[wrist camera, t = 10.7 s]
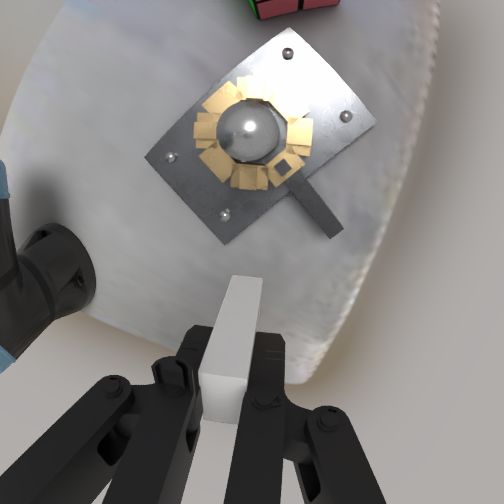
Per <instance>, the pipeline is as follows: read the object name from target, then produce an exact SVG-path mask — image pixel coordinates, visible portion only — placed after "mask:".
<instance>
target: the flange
mask: <svg viewBox="0 0 504 504" xmlns="http://www.w3.org/2000/svg"><path fill="white" fill-rule="evenodd" d="M247 76H264V77H265V78H270V79H276V82H277V88H278V87H280V86H281V85H282V84H284V83H285V84H286V85H287V86H288V87H289V88H290V89H291V90H292V91H293V92H294V94H295V95H296V96H297V97H298V98H299V99H300V100H301V101H302V102H303V103H304V105H305V106H306V107H307V108H308V109H309V110H310V111H309V113H308V114H306V115H305V116H304V117H303V118H306V119H313V125H312V129H313V130H312V142H311V148H310V156H304V155H298V156H299V157H300V158H301V160H302V161H303V162H304V163H305V165H304V166H302V167H301V168H300V169H299V171H300V172H301V173H302V175H303V176H304V177H305V178H307V177H308V176H309V175H311V174H312V173H313V172H314V171H316V170H317V169H318V168H319V167H321V166H322V165H323V164H324V163H326V162H327V161H328V160H329V159H331V158H332V157H333V156H334V155H336V154H337V153H338V152H340V151H341V150H342V149H343V148H345V147H346V146H347V145H348V144H350V143H351V142H352V141H354V140H355V139H356V138H357V137H359V136H360V135H361V134H363V133H364V132H365V131H366V130H368V129H369V128H370V127H372V126H373V125H374V124H376V123H377V121H376V120H375V119H374V117H373V116H372V115H371V113H370V112H369V111H368V110H367V108H366V107H365V106H364V105H363V103H362V102H361V101H360V100H359V98H358V97H357V96H356V95H355V94H354V92H353V91H352V90H351V89H350V88H349V87H348V85H347V84H346V83H345V82H344V81H343V80H342V79H341V78H340V76H339V75H338V74H337V73H336V72H335V71H334V70H333V69H332V68H331V67H330V66H329V65H328V64H327V63H326V61H325V60H324V59H323V58H322V57H321V56H320V55H319V54H318V53H317V52H316V51H315V50H314V49H313V48H312V47H310V46H309V45H308V44H307V43H306V42H305V41H304V40H303V39H302V38H301V37H300V36H299V35H298V34H297V33H295V32H294V31H293V30H292V29H291V28H290V27H288V28H287V29H285V30H284V31H283V32H281V33H280V34H278V35H277V36H275V37H274V38H273V39H271V40H270V41H269V42H267V43H266V44H264V45H263V46H262V47H260V48H259V49H258V50H257V51H255V52H254V53H253V54H251V55H250V56H249V57H248V58H246V59H245V60H244V61H243V62H241V63H240V64H239V65H238V66H237V67H235V68H234V69H233V70H232V71H231V72H229V73H228V74H227V75H226V76H225V77H224V78H222V79H221V80H220V81H219V82H218V83H217V84H216V85H214V86H213V87H212V88H211V89H210V90H209V91H208V92H207V93H206V94H205V95H204V96H202V97H201V98H200V99H199V100H198V101H197V102H196V103H195V104H194V105H193V106H192V107H191V108H190V109H189V110H188V111H187V112H186V113H185V114H184V115H183V116H182V117H181V118H180V119H179V120H178V121H177V122H176V123H175V124H174V125H173V126H172V127H171V128H170V129H169V130H168V131H167V132H166V134H165V135H164V136H163V137H162V138H161V139H160V140H159V141H158V142H157V143H156V144H155V146H154V147H153V148H152V149H151V150H150V151H149V152H148V154H147V155H146V156H145V157H144V158H145V159H146V160H147V161H148V162H149V163H150V164H151V165H152V167H153V168H154V169H155V170H156V171H157V172H158V173H159V174H160V175H161V176H162V178H163V179H164V180H165V181H166V182H167V183H168V184H169V185H170V186H171V187H172V189H173V190H174V191H175V192H176V193H177V194H178V195H179V196H180V197H181V198H182V199H183V201H184V202H185V203H186V204H187V205H188V206H189V207H190V208H191V209H192V210H193V211H194V213H195V214H196V215H197V216H198V217H199V218H200V219H201V220H202V221H203V222H204V223H205V224H206V225H207V227H208V228H209V229H210V230H211V231H212V232H213V233H214V234H215V235H216V236H217V237H218V238H219V239H220V241H221V242H222V243H223V244H224V245H225V244H226V243H228V242H229V241H230V240H231V239H232V238H234V237H235V236H236V235H237V234H238V233H240V232H241V231H242V230H243V229H244V228H246V227H247V226H248V225H249V224H250V223H252V222H253V221H254V220H255V219H256V218H258V217H259V216H260V215H261V214H262V213H264V212H265V211H266V210H267V209H269V208H270V207H271V206H272V205H273V204H275V203H276V202H277V201H278V200H280V199H281V198H282V197H283V196H284V195H286V194H287V193H288V192H289V191H291V190H290V189H289V187H288V186H287V185H286V184H285V183H284V181H283V182H282V183H281V184H280V185H279V186H277V187H276V186H275V185H274V184H273V183H272V182H271V181H270V180H269V187H268V190H262V189H257V190H247V189H239V188H238V187H231V177H230V178H229V179H228V180H226V181H225V182H223V183H222V182H221V181H220V179H219V178H218V177H217V176H216V175H215V174H214V173H213V172H212V171H211V169H210V168H209V167H208V166H207V165H206V164H205V163H204V162H203V161H202V160H201V158H200V157H199V155H201V154H202V153H203V152H204V151H205V150H206V149H207V148H196V138H193V136H194V122H197V113H209V112H208V111H207V110H206V109H205V108H204V107H203V106H202V104H203V103H204V102H205V101H206V100H207V99H208V98H209V97H211V96H212V95H213V94H214V93H215V92H216V91H217V90H218V89H220V88H221V87H222V86H223V85H224V84H225V83H227V82H228V81H230V82H231V83H232V84H233V85H234V86H235V87H236V88H237V81H238V77H247ZM277 88H276V89H277ZM287 127H288V123H287V122H286V121H285V120H284V118H283V117H282V116H281V115H280V114H279V113H278V112H277V111H276V110H275V109H274V107H273V106H272V105H271V104H260V103H257V102H254V101H242V102H238V103H235V104H233V105H231V106H229V107H228V108H227V109H226V110H225V111H224V112H223V113H222V114H221V116H220V118H219V120H218V123H217V127H216V135H217V139H218V142H219V144H220V146H221V148H222V149H223V150H224V151H225V152H226V153H227V154H228V155H229V156H231V157H233V158H235V159H238V160H239V161H240V162H247V163H260V164H267V163H268V162H269V161H270V160H272V159H273V158H274V157H275V156H276V155H278V154H279V153H280V152H281V151H283V150H284V149H285V148H286V139H287Z"/></svg>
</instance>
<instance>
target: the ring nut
mask: <svg viewBox="0 0 504 504" xmlns="http://www.w3.org/2000/svg"><path fill="white" fill-rule="evenodd" d="M276 88H277V82H276V79H270V78H265V77H264V76H247V77H238V81H237V88H236V87H235V86H234V85H233V84H232V83H231V82H230V81H228V82H227V83H225V84H224V85H223V86H222V87H221V88H220V89H218V90H217V91H216V92H215V93H214V94H213V95H212V96H211V97H209V98H208V99H207V100H206V101H205V102H204V103H203V104H202V106H203V107H204V108H205V109H206V110H207V111H208V112H209V113H197V122H194V136H193V138H196V148H207V149H206V150H205V151H204V152H203V153H202V154H201V155H199V157H200V158H201V160H202V161H203V162H204V163H205V164H206V165H207V166H208V167H209V168H210V169H211V171H212V172H213V173H214V174H215V175H216V176H217V177H218V178H219V179H220V181H221V182H222V183H223V182H225V181H226V180H228V179H229V178H230V177H231V187H238V188H239V189H247V190H257V189H262V190H268V187H269V180H270V181H271V182H272V183H273V184H274V185H275V186H276V187H277V186H279V185H280V184H281V183H282V182H283V181H284V183H285V184H286V185H287V186H288V187H289V189H290V190H291V191H292V192H293V193H294V195H295V196H296V197H297V198H298V200H299V201H300V202H301V203H302V204H303V206H304V207H305V208H306V209H307V211H308V212H309V213H310V214H311V216H312V217H313V218H314V219H315V221H316V222H317V223H318V224H319V226H320V227H321V228H322V230H323V231H324V232H325V233H326V235H327V236H328V237H329V239H331V238H332V237H334V236H335V235H336V234H338V233H339V232H340V231H342V230H343V229H344V228H343V226H342V225H341V223H340V222H339V221H338V219H337V218H336V217H335V215H334V214H333V213H332V211H331V210H330V209H329V207H328V206H327V205H326V204H325V202H324V201H323V200H322V198H321V197H320V196H319V195H318V193H317V192H316V191H315V190H314V188H313V187H312V186H311V185H310V183H309V182H308V181H307V180H306V178H305V177H304V176H303V175H302V173H301V172H300V171H299V169H300V168H301V167H302V166H304V165H305V163H304V162H303V161H302V160H301V158H300V157H299V156H298V155H304V156H310V148H311V142H312V130H313V129H312V125H313V119H306V118H303V117H304V116H305V115H306V114H308V113H309V111H310V110H309V109H308V108H307V107H306V106H305V105H304V103H303V102H302V101H301V100H300V99H299V98H298V97H297V96H296V95H295V94H294V92H293V91H292V90H291V89H290V88H289V87H288V86H287V85H286V84H285V83H284V84H282V85H281V86H280V87H278V88H277V89H276ZM242 101H254V102H257V103H260V104H271V105H272V106H273V107H274V109H275V110H276V111H277V112H278V113H279V114H280V115H281V116H282V117H283V118H284V120H285V121H286V122H287V123H288V127H287V139H286V148H285V149H284V150H283V151H281V152H280V153H279V154H278V155H276V156H275V157H274V158H273V159H272V160H270V161H269V162H268V163H267V164H260V163H247V162H240V161H239V160H238V159H235V158H233V157H231V156H229V155H228V154H227V153H226V152H225V151H224V150H223V149H222V148H221V146H220V144H219V142H218V139H217V135H216V127H217V123H218V120H219V118H220V116H221V114H222V113H223V112H224V111H225V110H226V109H227V108H228V107H229V106H231V105H233V104H235V103H238V102H242Z"/></svg>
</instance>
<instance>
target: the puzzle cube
mask: <svg viewBox="0 0 504 504" xmlns="http://www.w3.org/2000/svg"><path fill="white" fill-rule="evenodd" d="M249 2H250V4H251V6H252V8H253V10H254V13H255V15H256V17H257V19H260V20H262V19H266V18H270V17H274V16H278V15H282V14H286V13H291V12H295V11H298V10H299V9H302V10H305V9H311V8H317V7H323V6H330V5H337V4H339V2H340V0H249Z"/></svg>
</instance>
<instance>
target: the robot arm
mask: <svg viewBox="0 0 504 504" xmlns="http://www.w3.org/2000/svg"><path fill="white" fill-rule="evenodd" d="M9 198H10V193H9V192H8V185H7V174H6V167H5V164H4V163H3V161H2V160H0V374H1V373H2V372H3V371H4V370H5V369H7V368H8V367H9V366H10V365H11V364H12V363H14V362H15V361H16V360H17V359H18V357H19V356H20V355H21V354H22V353H23V352H24V351H25V350H26V349H27V348H28V347H29V346H30V344H31V343H32V342H33V341H34V340H35V339H36V338H37V337H38V336H39V335H40V334H41V333H42V332H43V331H44V330H45V329H46V328H47V327H48V326H49V325H50V324H51V323H52V322H53V321H54V320H56V319H59V318H61V317H64V316H67V315H69V314H72V313H75V312H77V311H79V310H81V309H82V308H83V307H84V306H85V305H87V304H88V303H89V302H90V300H91V299H92V297H93V295H94V292H95V274H94V269H93V266H92V263H91V260H90V258H89V255H88V253H87V251H86V250H85V248H84V246H83V245H82V243H81V242H80V241H79V239H78V238H77V237H76V236H75V235H74V234H73V233H72V232H71V231H70V230H68V229H67V228H65V227H63V226H61V225H59V224H53V223H52V224H46V225H44V226H42V227H40V228H38V229H37V230H35V231H34V232H33V233H32V234H31V235H30V236H29V238H28V239H27V240H26V241H25V242H24V244H23V245H22V246H21V247H20V249H19V250H18V251H17V252H16V248H15V243H14V237H13V231H12V225H11V217H10V207H9ZM262 285H263V278H258V277H247V276H237V275H232V278H231V281H230V283H229V286H228V289H227V292H226V295H225V297H224V300H223V303H222V306H221V308H220V311H219V314H218V317H217V320H216V322H215V325H214V327H207V326H200V325H194V326H193V327H192V328H191V329H189V330H188V331H187V333H186V335H185V337H184V339H183V342H182V343H181V345H180V348H179V350H178V352H177V354H176V356H168V357H163V358H161V359H159V360H157V361H155V363H154V364H153V365H152V366H151V367H152V372H153V376H154V380H155V383H154V384H149V385H130V382H129V381H128V380H127V379H126V378H124V377H122V376H119V375H109V376H106V377H103V378H102V379H101V380H99V381H98V382H97V383H96V384H95V385H94V386H93V387H92V388H91V389H89V391H87V392H86V393H85V394H84V395H83V396H82V397H81V398H80V399H79V400H78V401H77V402H76V403H75V404H74V405H73V406H72V407H71V408H70V409H69V410H68V411H67V412H66V413H64V414H63V415H62V416H61V417H60V418H59V419H58V420H57V421H56V422H55V423H54V424H53V425H52V426H51V427H50V428H49V429H48V430H47V431H46V432H45V433H44V434H43V435H42V436H41V437H40V438H39V439H38V440H37V441H36V442H35V443H34V444H33V445H32V446H31V447H29V448H28V449H27V450H26V451H25V452H24V453H23V454H22V455H21V456H20V457H19V458H18V460H16V461H15V462H14V463H13V464H12V465H11V466H10V467H9V468H8V469H7V470H6V471H5V472H4V473H3V474H2V475H1V476H0V504H91V503H92V502H93V501H94V500H95V499H96V497H97V496H98V495H99V494H100V493H101V491H102V490H103V489H104V488H105V486H106V485H107V484H108V483H109V482H110V480H111V479H112V481H111V483H110V486H109V488H108V490H107V493H106V495H105V497H104V500H103V502H102V504H181V500H182V496H183V492H184V489H185V485H186V481H187V478H188V474H189V471H190V467H191V463H192V460H193V456H194V453H195V449H196V445H197V441H198V438H199V434H200V420H201V417H202V413H203V419H205V420H211V421H216V422H222V423H229V424H237V425H238V429H237V434H236V440H235V446H234V451H233V456H232V462H231V467H230V472H229V478H228V483H227V489H226V494H225V499H224V504H280V498H281V485H282V470H283V458H284V459H287V460H290V461H293V463H294V466H295V470H296V474H297V477H298V481H299V485H300V489H301V492H302V496H303V500H304V503H305V504H386V501H385V499H384V497H383V494H382V492H381V490H380V487H379V485H378V483H377V480H376V478H375V476H374V474H373V471H372V469H371V467H370V465H369V462H368V460H367V458H366V456H365V453H364V451H363V449H362V446H361V444H360V442H359V440H358V438H357V435H356V433H355V431H354V429H353V426H352V425H351V422H350V420H349V418H348V416H347V415H346V414H345V412H344V411H342V410H341V409H339V408H337V407H333V406H321V407H318V408H315V409H314V410H313V411H311V410H308V409H305V408H302V407H299V406H297V405H295V404H293V403H292V402H291V401H290V400H289V399H288V398H287V396H286V395H285V391H284V376H285V341H284V340H283V338H282V336H281V334H275V333H265V332H258V328H259V319H260V308H261V296H262Z"/></svg>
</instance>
